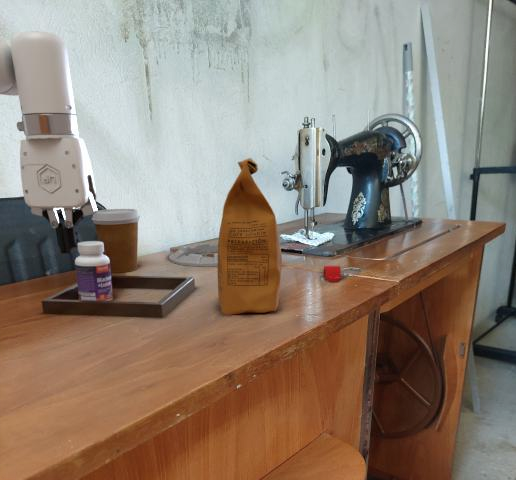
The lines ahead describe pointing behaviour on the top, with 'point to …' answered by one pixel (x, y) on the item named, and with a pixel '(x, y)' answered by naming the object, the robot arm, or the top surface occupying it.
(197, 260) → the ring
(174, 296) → the walnut frame
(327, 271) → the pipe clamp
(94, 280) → the pill bottle
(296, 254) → the top surface
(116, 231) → the disposable coffee cup
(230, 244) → the coffee package
